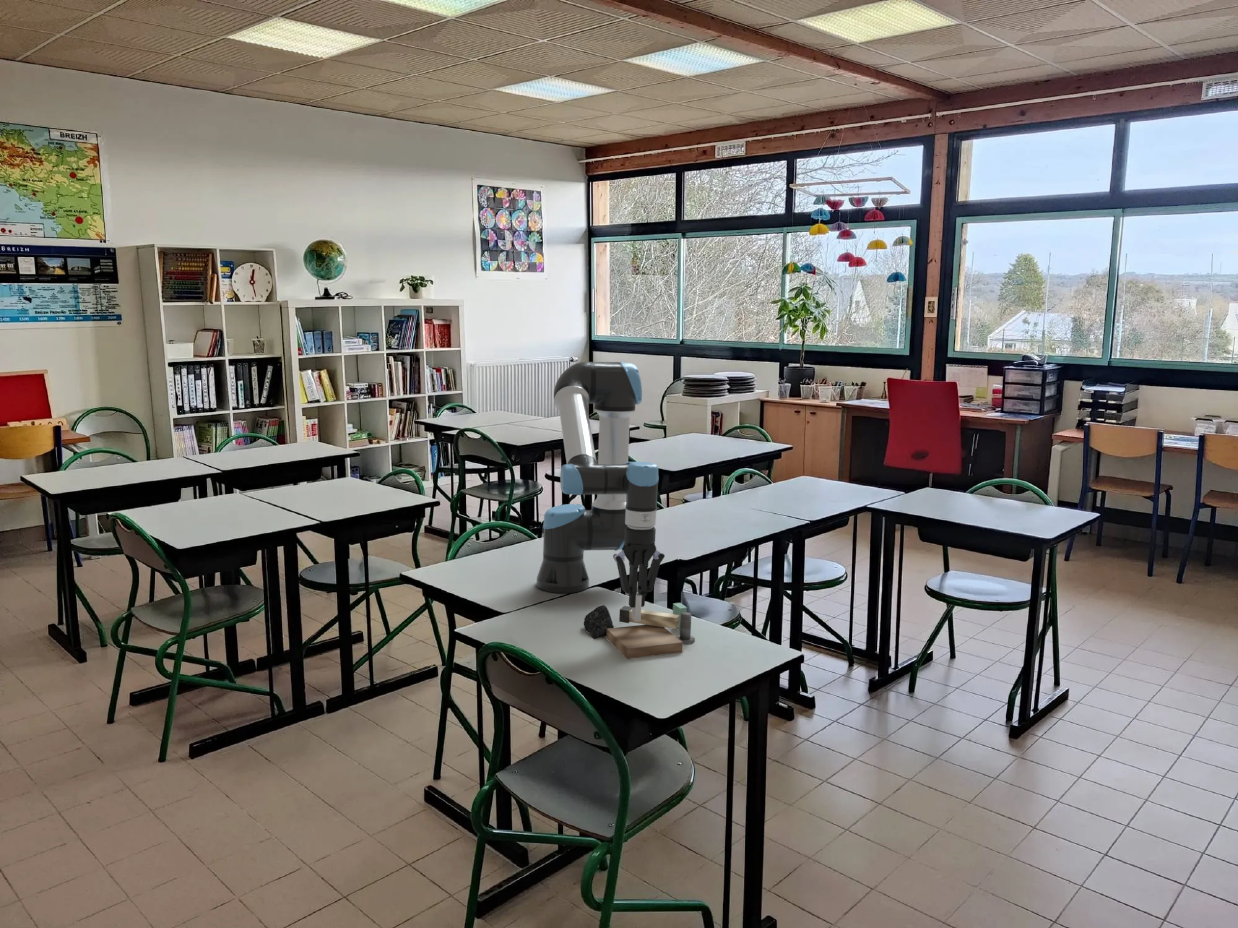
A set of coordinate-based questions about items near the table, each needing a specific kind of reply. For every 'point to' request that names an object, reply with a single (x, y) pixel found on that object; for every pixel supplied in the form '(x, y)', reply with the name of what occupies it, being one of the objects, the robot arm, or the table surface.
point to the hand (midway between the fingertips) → (636, 619)
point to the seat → (650, 639)
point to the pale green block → (679, 610)
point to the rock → (598, 622)
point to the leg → (650, 618)
